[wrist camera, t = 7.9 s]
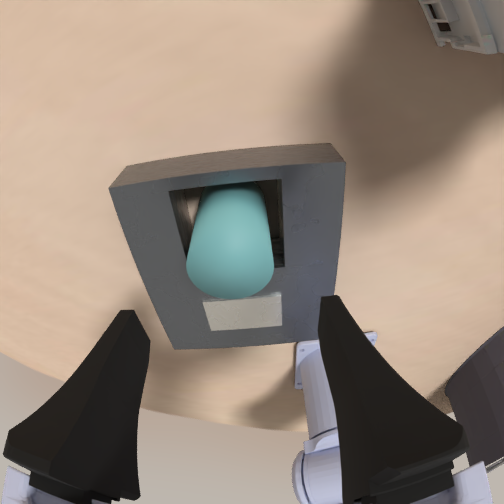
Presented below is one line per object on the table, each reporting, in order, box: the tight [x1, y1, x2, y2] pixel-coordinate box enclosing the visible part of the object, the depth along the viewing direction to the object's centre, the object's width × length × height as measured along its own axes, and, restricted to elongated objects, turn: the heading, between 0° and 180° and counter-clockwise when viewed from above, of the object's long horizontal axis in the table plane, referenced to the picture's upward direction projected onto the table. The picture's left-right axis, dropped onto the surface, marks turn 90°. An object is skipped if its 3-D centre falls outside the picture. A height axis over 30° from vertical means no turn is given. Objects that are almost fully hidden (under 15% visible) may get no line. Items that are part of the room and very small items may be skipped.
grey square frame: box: [109, 143, 346, 349], centre depth 19 cm, size 14×12×3 cm
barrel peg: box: [186, 181, 274, 299], centre depth 16 cm, size 4×4×6 cm
